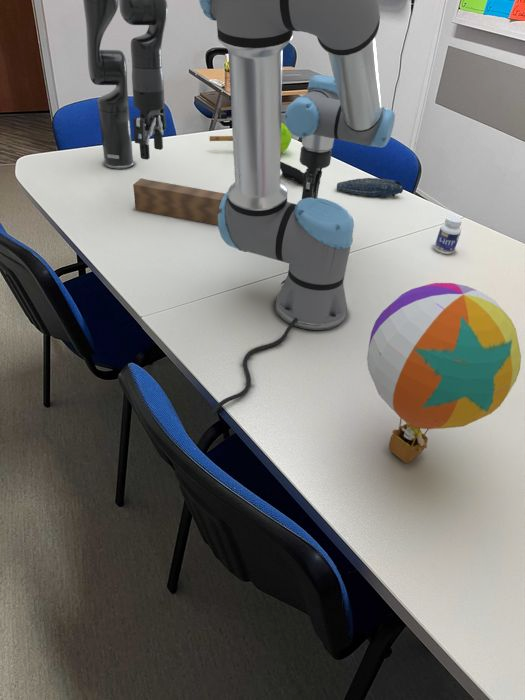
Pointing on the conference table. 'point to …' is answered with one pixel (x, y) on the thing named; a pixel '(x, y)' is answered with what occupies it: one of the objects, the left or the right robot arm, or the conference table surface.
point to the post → (177, 201)
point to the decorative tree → (284, 138)
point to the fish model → (371, 187)
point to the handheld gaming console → (292, 172)
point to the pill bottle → (448, 235)
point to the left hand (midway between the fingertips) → (152, 153)
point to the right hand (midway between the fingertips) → (304, 235)
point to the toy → (441, 360)
